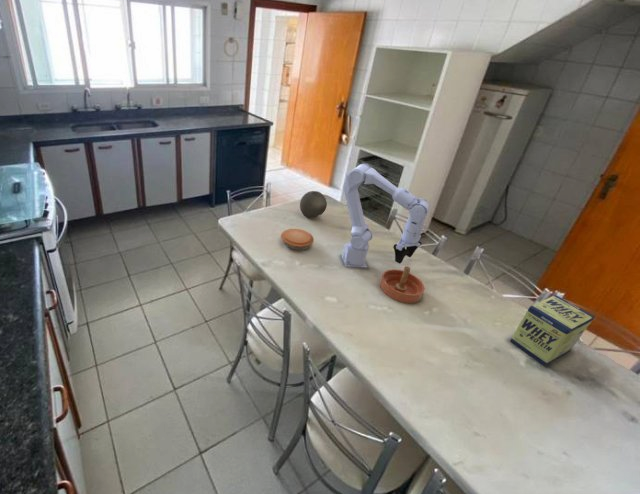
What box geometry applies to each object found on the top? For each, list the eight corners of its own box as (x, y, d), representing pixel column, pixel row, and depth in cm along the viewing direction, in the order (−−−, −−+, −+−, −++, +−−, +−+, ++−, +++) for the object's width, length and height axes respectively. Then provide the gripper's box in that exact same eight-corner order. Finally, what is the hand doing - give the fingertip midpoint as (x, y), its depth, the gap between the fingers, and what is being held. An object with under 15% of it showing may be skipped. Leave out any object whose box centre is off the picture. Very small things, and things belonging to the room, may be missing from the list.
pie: (317, 241, 159) (319, 232, 157) (305, 256, 147) (306, 247, 145) (288, 231, 166) (289, 223, 164) (274, 245, 154) (275, 236, 152)
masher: (397, 292, 128) (404, 270, 123) (393, 285, 131) (400, 264, 127) (407, 293, 128) (415, 271, 123) (403, 286, 131) (410, 265, 126)
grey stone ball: (298, 221, 176) (301, 196, 169) (298, 209, 189) (301, 185, 182) (324, 224, 174) (329, 199, 168) (323, 212, 187) (327, 188, 180)
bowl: (387, 302, 123) (390, 293, 121) (374, 276, 137) (377, 268, 135) (428, 305, 123) (431, 296, 121) (411, 279, 136) (414, 270, 134)
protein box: (508, 341, 109) (529, 306, 102) (534, 327, 115) (555, 293, 108) (544, 367, 101) (569, 330, 94) (571, 351, 107) (596, 315, 100)
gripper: (413, 240, 118) (402, 270, 124) (432, 229, 126) (421, 258, 132) (395, 231, 123) (386, 261, 129) (414, 221, 131) (405, 249, 137)
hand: (403, 259), depth 131 cm, fingers open, 7 cm apart
